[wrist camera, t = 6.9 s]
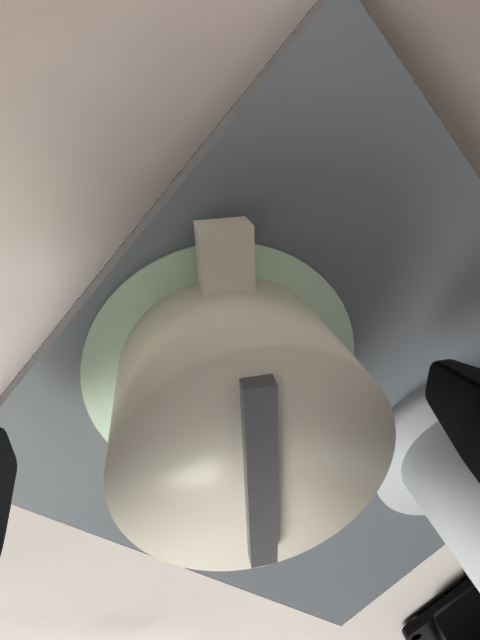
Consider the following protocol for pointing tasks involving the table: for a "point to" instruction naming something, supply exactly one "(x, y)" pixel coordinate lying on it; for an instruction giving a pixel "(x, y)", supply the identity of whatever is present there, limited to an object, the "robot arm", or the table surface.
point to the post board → (309, 283)
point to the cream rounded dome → (240, 419)
